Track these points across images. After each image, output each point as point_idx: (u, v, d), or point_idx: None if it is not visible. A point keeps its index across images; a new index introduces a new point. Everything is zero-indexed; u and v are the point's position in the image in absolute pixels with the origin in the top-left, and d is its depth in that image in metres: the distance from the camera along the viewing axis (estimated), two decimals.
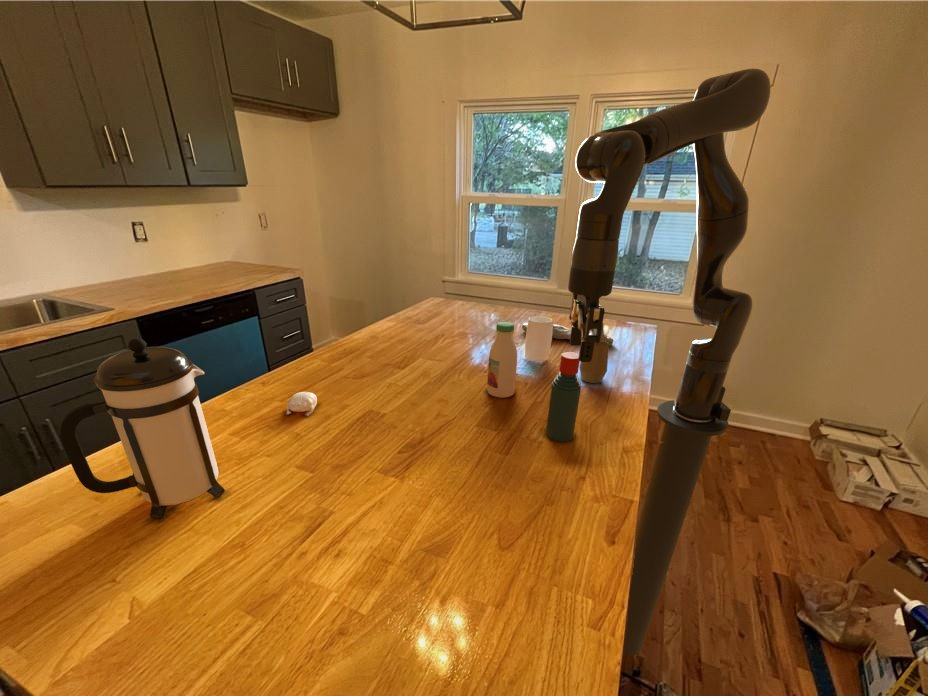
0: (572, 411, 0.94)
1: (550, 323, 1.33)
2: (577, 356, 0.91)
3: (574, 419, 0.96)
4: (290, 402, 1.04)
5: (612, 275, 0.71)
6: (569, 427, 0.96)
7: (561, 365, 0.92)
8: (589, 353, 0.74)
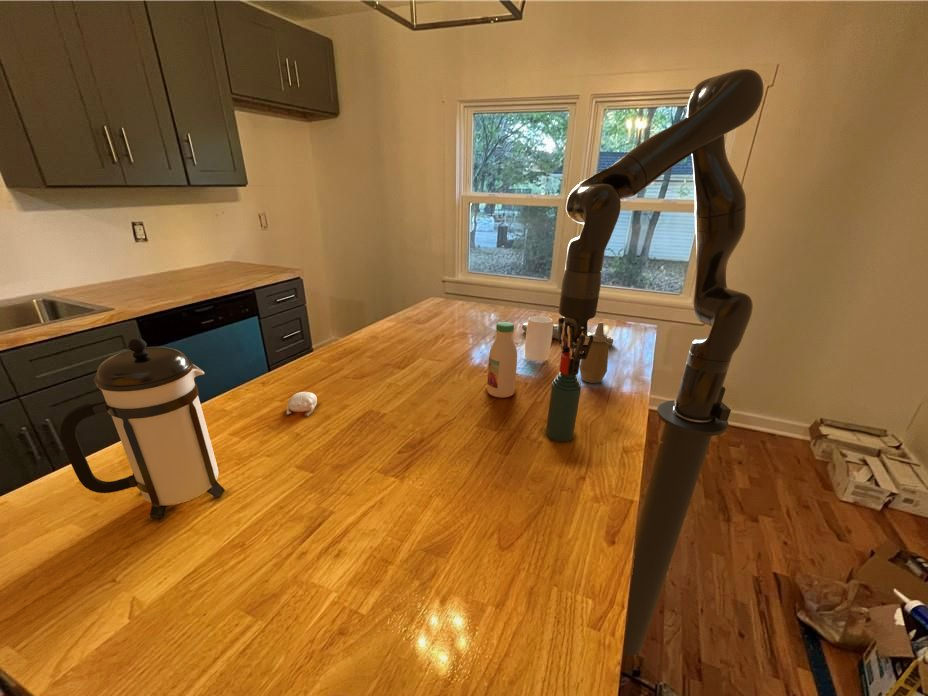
0: (572, 411, 0.94)
1: (550, 323, 1.33)
2: None
3: (574, 419, 0.96)
4: (290, 402, 1.04)
5: (597, 301, 0.84)
6: (569, 427, 0.96)
7: (561, 365, 0.92)
8: (577, 368, 0.89)
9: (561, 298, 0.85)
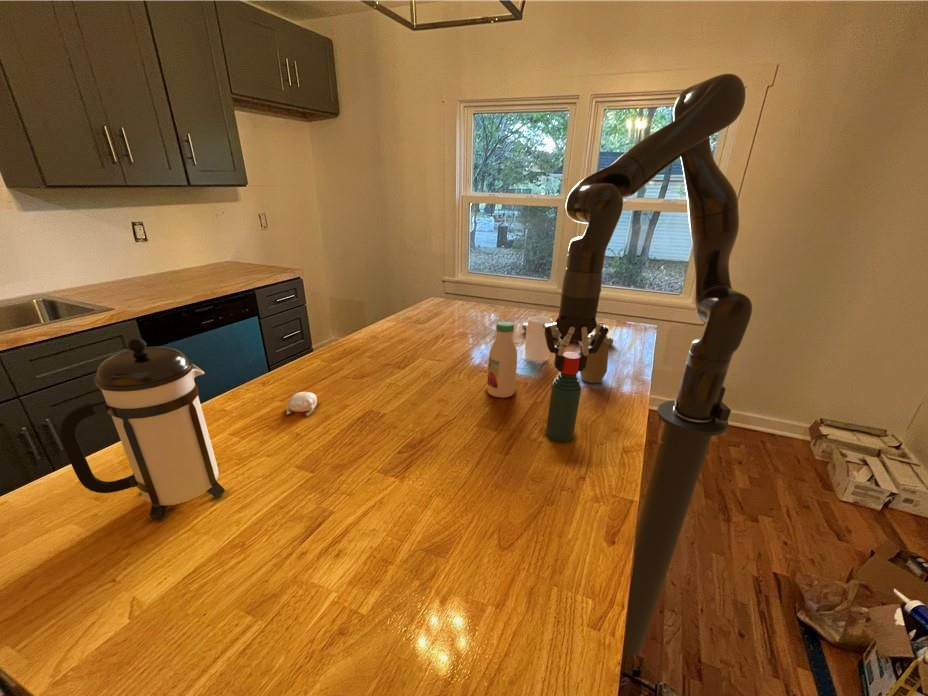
0: (572, 411, 0.94)
1: (550, 323, 1.33)
2: (573, 353, 0.92)
3: (574, 419, 0.96)
4: (290, 402, 1.04)
5: None
6: (569, 427, 0.96)
7: (573, 368, 0.90)
8: None
9: (584, 302, 0.82)
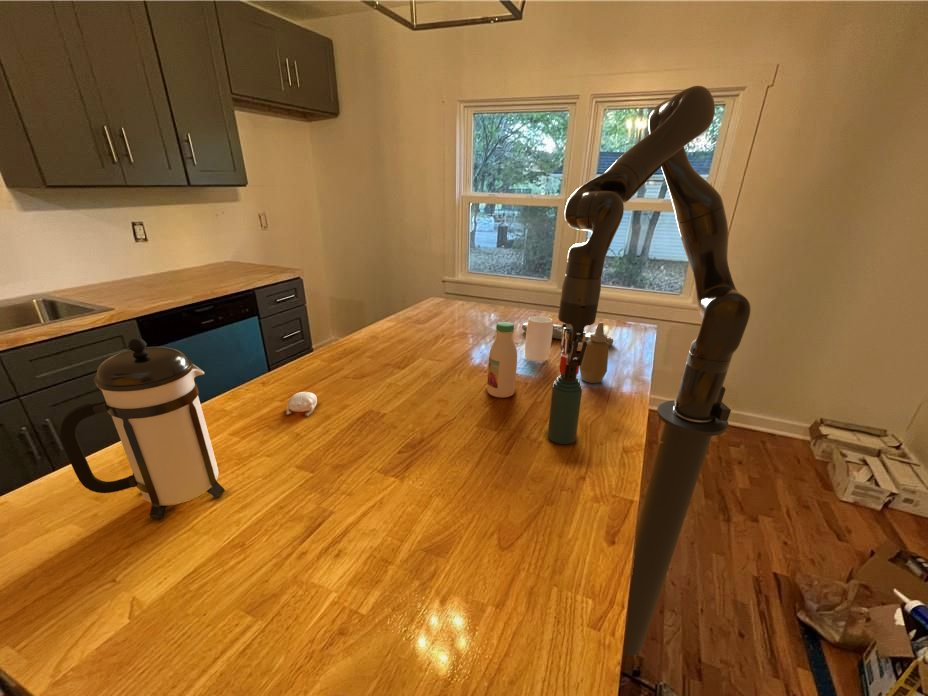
0: (578, 411, 0.94)
1: (550, 323, 1.33)
2: (564, 354, 0.91)
3: None
4: (290, 402, 1.04)
5: None
6: (576, 427, 0.95)
7: None
8: None
9: None
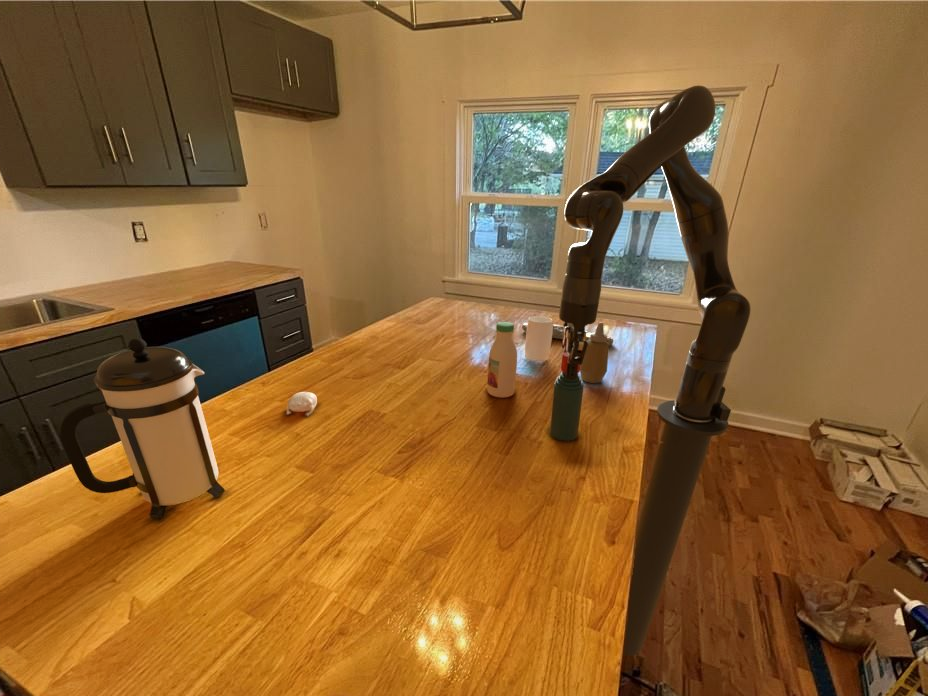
0: (580, 408, 0.95)
1: (550, 323, 1.33)
2: (566, 352, 0.92)
3: None
4: (290, 402, 1.04)
5: None
6: (577, 424, 0.97)
7: None
8: None
9: None
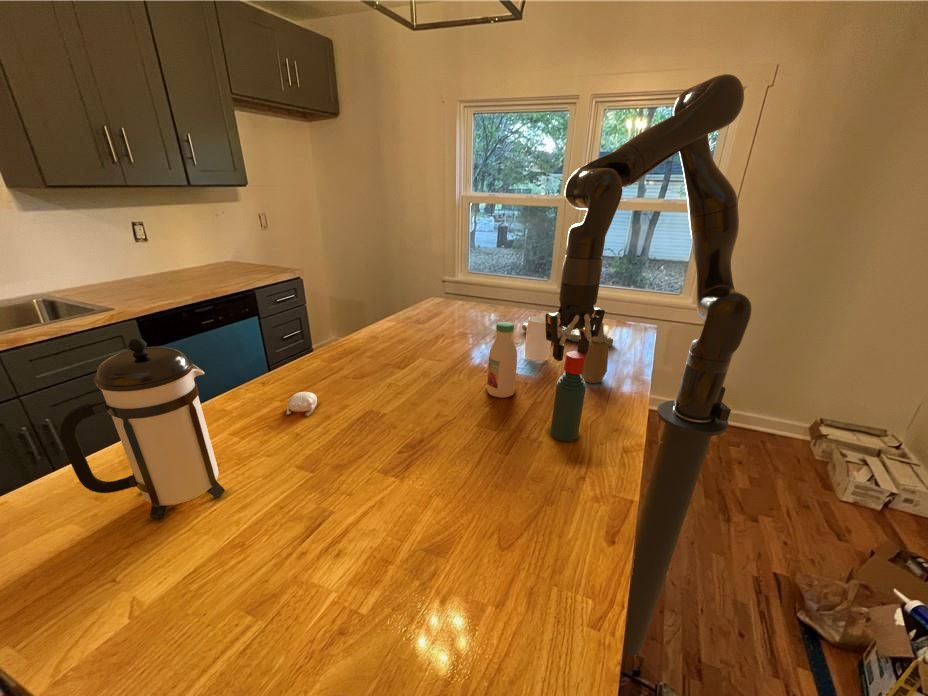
0: (581, 409, 0.95)
1: None
2: (569, 353, 0.92)
3: None
4: (290, 402, 1.04)
5: None
6: (578, 425, 0.97)
7: None
8: None
9: (591, 289, 0.82)
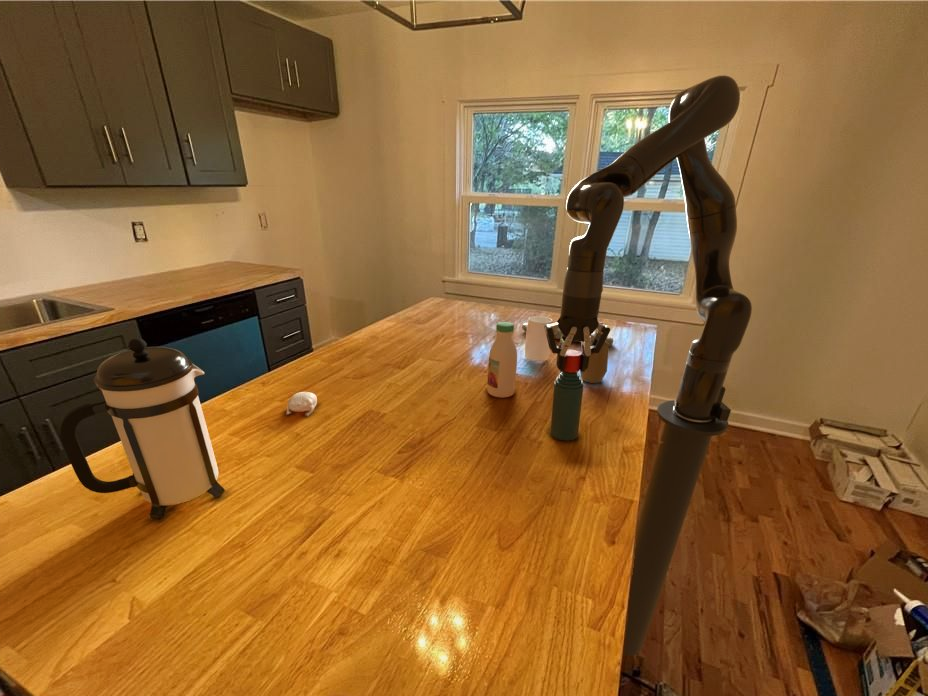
0: (580, 408, 0.95)
1: (550, 323, 1.33)
2: (568, 354, 0.91)
3: None
4: (290, 402, 1.04)
5: None
6: (578, 424, 0.96)
7: None
8: None
9: (586, 302, 0.82)
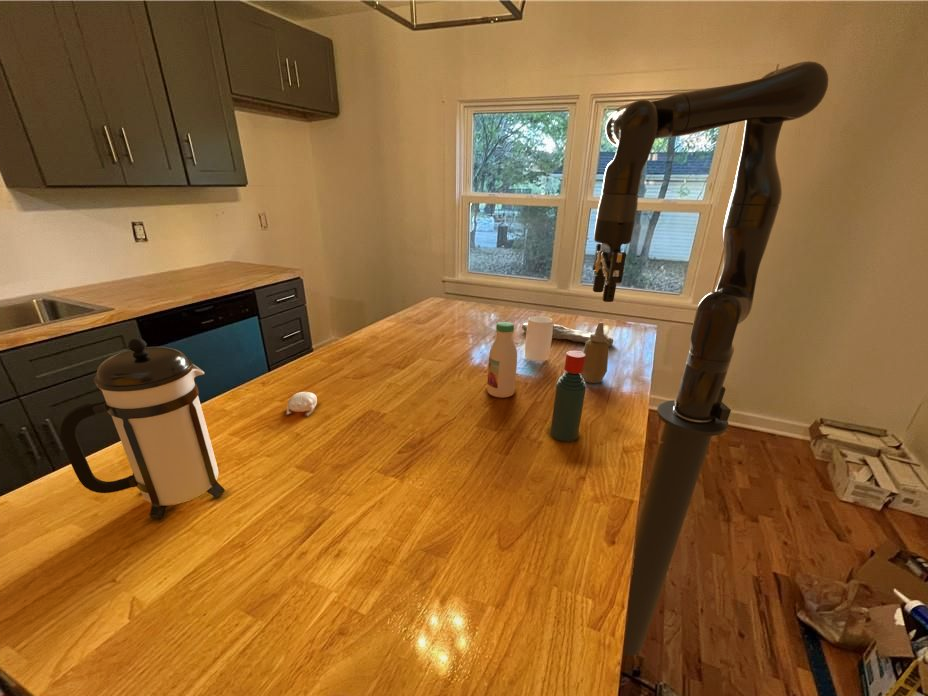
0: (581, 409, 0.95)
1: (550, 323, 1.33)
2: (582, 355, 0.90)
3: None
4: (290, 402, 1.04)
5: None
6: (578, 425, 0.97)
7: (565, 362, 0.92)
8: None
9: None
